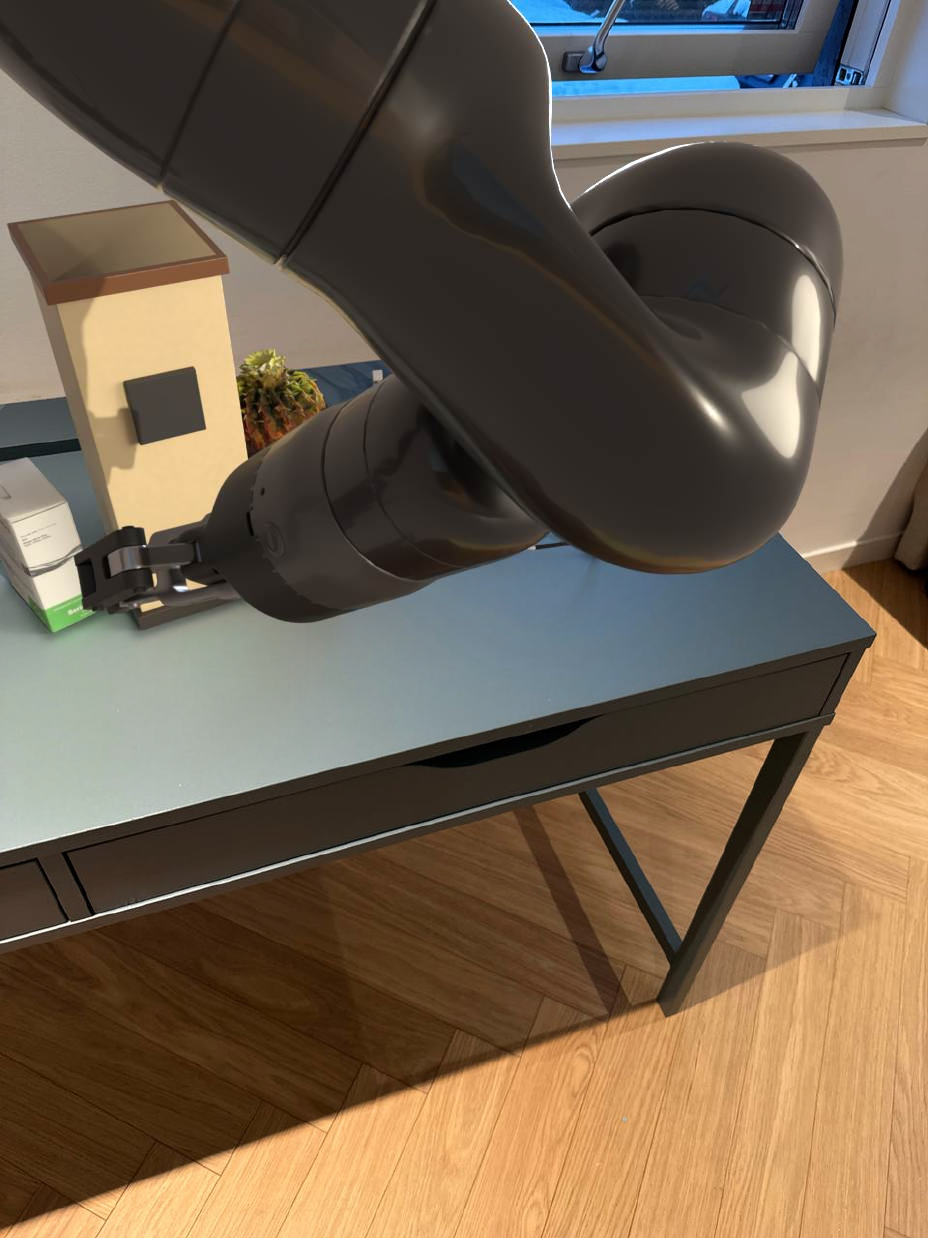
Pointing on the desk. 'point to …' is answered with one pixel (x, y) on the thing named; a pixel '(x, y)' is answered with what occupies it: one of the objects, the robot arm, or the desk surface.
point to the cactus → (274, 399)
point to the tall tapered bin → (141, 363)
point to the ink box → (40, 545)
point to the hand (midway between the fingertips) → (191, 584)
